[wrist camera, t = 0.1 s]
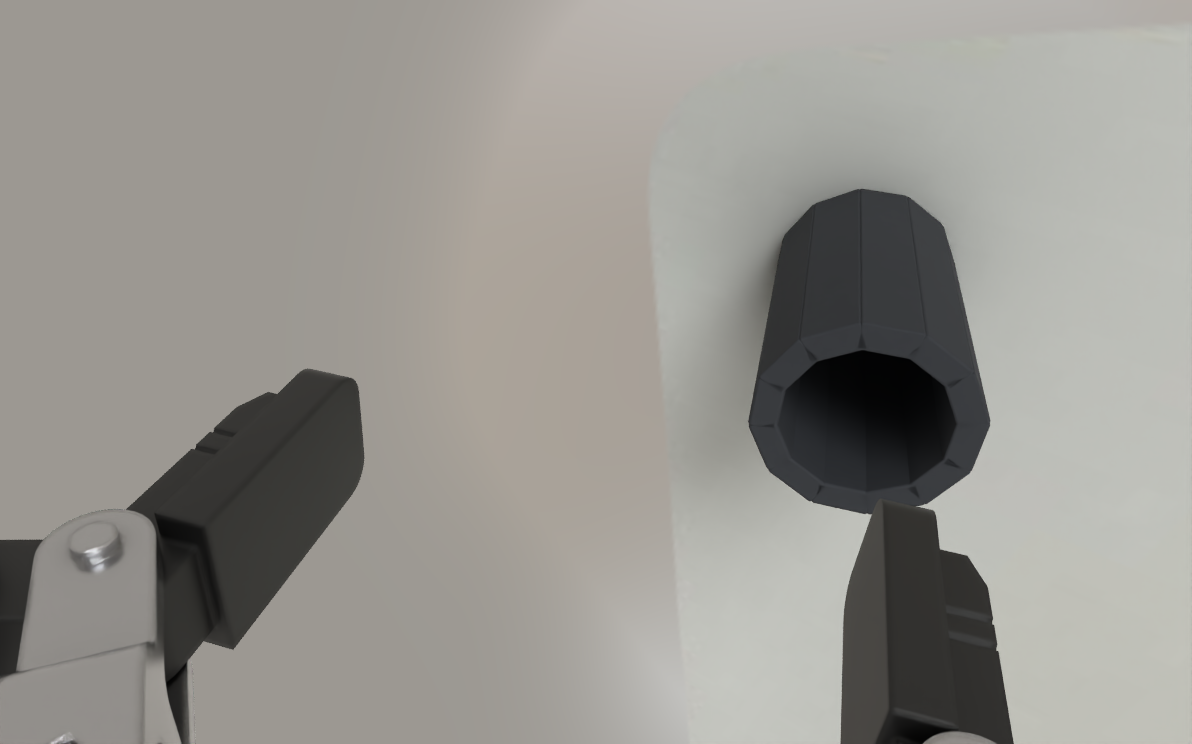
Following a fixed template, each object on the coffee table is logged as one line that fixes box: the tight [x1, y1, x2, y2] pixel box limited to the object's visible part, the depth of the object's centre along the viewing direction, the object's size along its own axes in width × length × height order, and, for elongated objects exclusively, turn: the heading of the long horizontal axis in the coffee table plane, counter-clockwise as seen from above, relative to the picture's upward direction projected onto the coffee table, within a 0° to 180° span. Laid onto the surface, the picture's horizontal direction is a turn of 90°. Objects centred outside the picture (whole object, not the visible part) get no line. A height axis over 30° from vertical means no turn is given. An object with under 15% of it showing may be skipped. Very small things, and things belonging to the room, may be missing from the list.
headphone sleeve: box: [748, 189, 990, 514], centre depth 27 cm, size 6×6×10 cm
